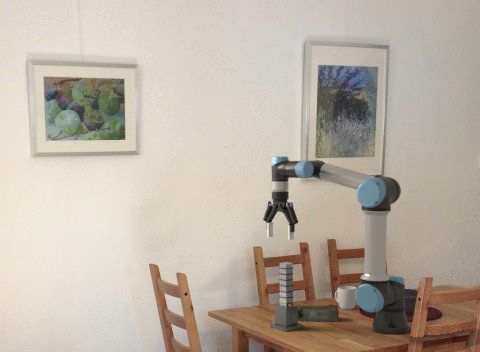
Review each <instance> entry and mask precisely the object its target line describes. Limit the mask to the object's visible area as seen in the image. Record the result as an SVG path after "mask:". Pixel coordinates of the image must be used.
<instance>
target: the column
mask: <svg viewBox="0 0 480 352" xmlns="http://www.w3.org/2000/svg"><path fill="white" fill-rule="evenodd" d="M278 269H279V273H278V274H279V279H278V280H279V289H278V290H279V302H278V303H279V305H280V306H283V307H288V304H291V303H293V304H294V264H293V262H289V261H288V262H287V261H285V262H279V268H278Z"/></svg>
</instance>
